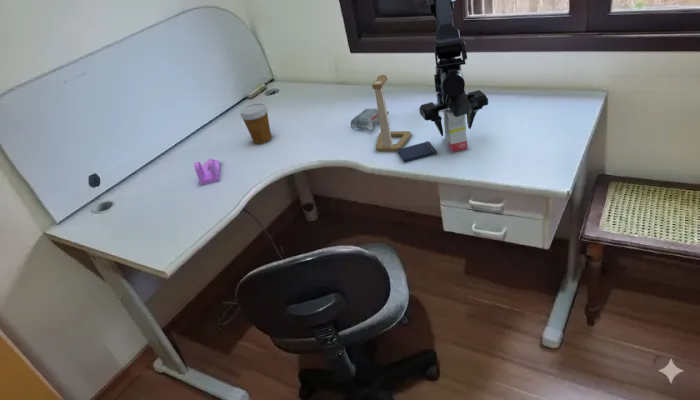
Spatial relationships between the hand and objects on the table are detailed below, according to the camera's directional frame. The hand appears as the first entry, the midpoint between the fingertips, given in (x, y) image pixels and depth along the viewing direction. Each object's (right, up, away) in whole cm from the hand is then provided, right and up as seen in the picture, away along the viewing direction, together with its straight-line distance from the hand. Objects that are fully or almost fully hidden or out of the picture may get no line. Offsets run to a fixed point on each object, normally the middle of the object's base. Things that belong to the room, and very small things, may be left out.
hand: (455, 131), depth 152 cm
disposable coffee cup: (-62, +1, +30) cm, 69 cm away
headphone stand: (-18, -2, +11) cm, 21 cm away
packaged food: (-24, +5, +24) cm, 34 cm away
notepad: (-11, -6, +2) cm, 13 cm away
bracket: (-76, -11, +17) cm, 79 cm away
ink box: (+1, -4, +3) cm, 4 cm away
